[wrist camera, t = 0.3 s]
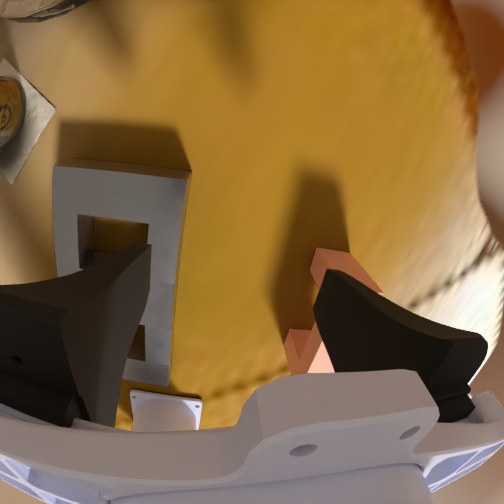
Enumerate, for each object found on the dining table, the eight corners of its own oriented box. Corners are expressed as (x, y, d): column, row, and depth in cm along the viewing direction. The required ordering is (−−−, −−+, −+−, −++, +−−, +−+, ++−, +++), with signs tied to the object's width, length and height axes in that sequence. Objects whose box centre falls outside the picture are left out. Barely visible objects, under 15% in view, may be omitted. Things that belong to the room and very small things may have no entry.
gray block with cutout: (171, 363, 27) (168, 387, 24) (85, 347, 25) (75, 368, 22) (192, 171, 19) (187, 180, 17) (73, 158, 18) (53, 166, 15)
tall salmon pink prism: (313, 346, 27) (330, 394, 22) (283, 344, 27) (296, 394, 21) (350, 252, 23) (383, 293, 18) (316, 247, 23) (344, 288, 17)
